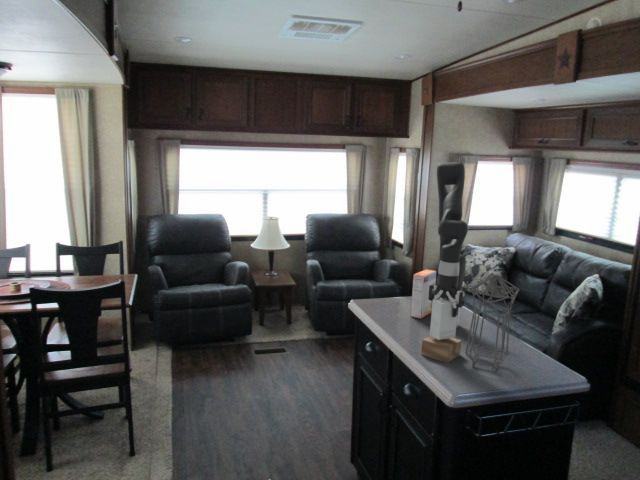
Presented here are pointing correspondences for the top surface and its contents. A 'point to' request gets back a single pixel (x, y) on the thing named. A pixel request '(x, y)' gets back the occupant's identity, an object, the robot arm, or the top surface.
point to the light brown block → (441, 348)
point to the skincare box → (442, 319)
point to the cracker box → (422, 293)
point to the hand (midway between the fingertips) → (444, 314)
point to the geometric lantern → (475, 292)
